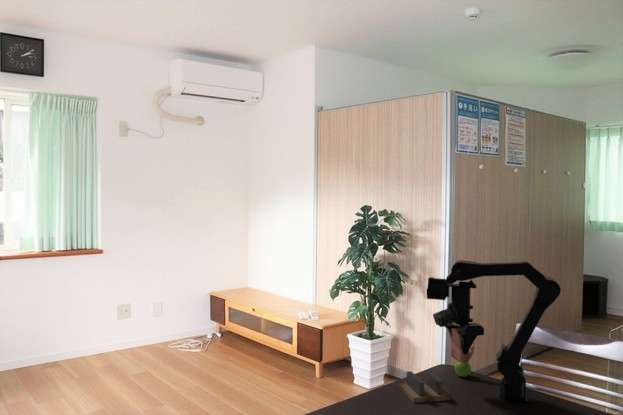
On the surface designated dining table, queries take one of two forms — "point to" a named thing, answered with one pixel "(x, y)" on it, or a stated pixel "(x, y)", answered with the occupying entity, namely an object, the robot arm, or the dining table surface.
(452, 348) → the reddish brown block
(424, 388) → the bookend shelf
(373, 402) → the dining table surface
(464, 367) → the snail figurine
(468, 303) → the robot arm
